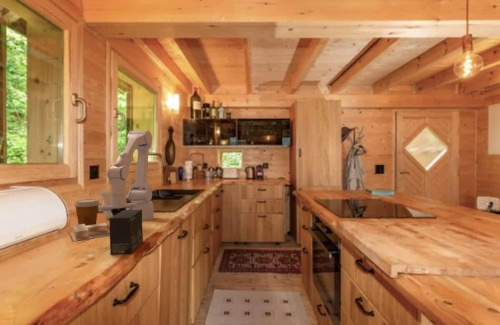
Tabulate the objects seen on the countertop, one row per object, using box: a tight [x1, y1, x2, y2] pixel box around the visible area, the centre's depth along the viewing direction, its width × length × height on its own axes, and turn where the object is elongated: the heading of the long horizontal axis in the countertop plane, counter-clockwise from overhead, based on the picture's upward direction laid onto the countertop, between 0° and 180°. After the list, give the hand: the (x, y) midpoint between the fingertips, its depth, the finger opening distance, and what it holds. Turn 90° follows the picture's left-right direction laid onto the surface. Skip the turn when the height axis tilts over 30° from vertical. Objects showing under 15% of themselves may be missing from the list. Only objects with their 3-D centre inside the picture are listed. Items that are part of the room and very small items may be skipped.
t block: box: [72, 222, 108, 240], centre depth 106 cm, size 11×12×3 cm
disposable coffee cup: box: [74, 198, 101, 226], centre depth 117 cm, size 10×10×12 cm
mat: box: [67, 225, 110, 243], centre depth 108 cm, size 21×16×1 cm
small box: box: [108, 209, 144, 256], centre depth 91 cm, size 13×7×12 cm, turn 7°
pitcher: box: [97, 191, 132, 220], centre depth 136 cm, size 11×18×14 cm, turn 139°
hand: (118, 226), depth 112 cm, fingers closed
